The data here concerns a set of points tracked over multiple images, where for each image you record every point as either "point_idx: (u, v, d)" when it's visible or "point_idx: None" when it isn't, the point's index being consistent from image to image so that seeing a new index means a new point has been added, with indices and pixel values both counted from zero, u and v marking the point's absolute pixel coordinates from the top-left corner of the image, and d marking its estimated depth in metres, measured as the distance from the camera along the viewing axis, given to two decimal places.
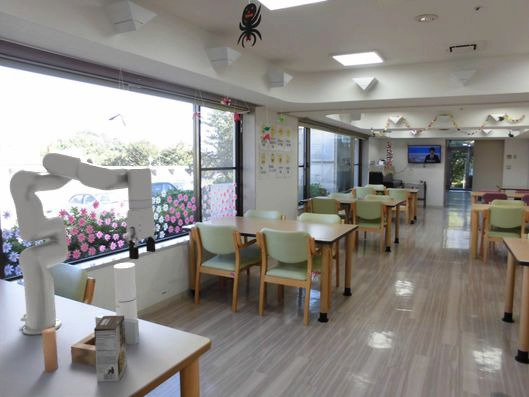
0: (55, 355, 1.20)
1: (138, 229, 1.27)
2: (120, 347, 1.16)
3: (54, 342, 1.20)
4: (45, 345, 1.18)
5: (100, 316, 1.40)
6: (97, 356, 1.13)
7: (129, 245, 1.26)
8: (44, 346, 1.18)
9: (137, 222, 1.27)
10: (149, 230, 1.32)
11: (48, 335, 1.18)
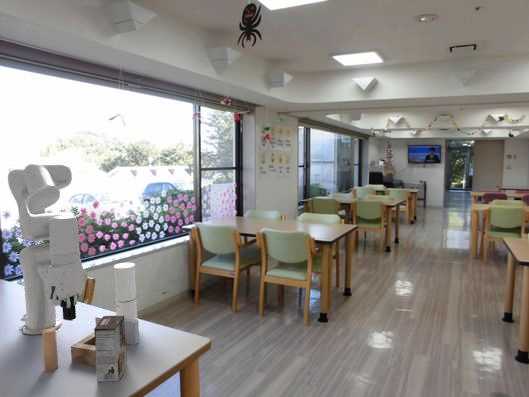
0: (55, 355, 1.20)
1: (60, 288, 1.10)
2: (120, 347, 1.16)
3: (54, 342, 1.20)
4: (45, 345, 1.18)
5: (100, 316, 1.40)
6: (97, 356, 1.13)
7: (61, 306, 1.14)
8: (44, 346, 1.18)
9: (58, 281, 1.10)
10: (76, 287, 1.16)
11: (48, 335, 1.18)
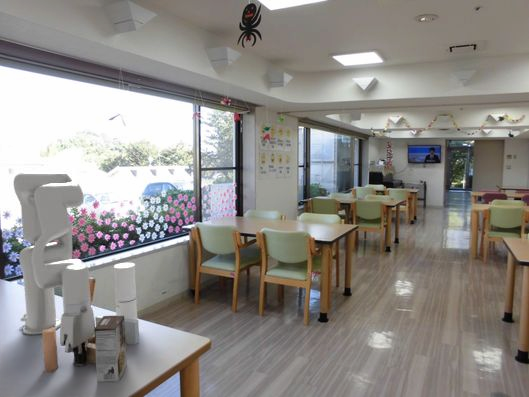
0: (55, 355, 1.20)
1: (72, 337, 1.16)
2: (120, 347, 1.16)
3: (54, 342, 1.20)
4: (45, 345, 1.18)
5: (100, 316, 1.40)
6: (97, 356, 1.13)
7: (73, 351, 1.19)
8: (44, 346, 1.18)
9: (70, 329, 1.16)
10: (87, 333, 1.21)
11: (48, 335, 1.18)
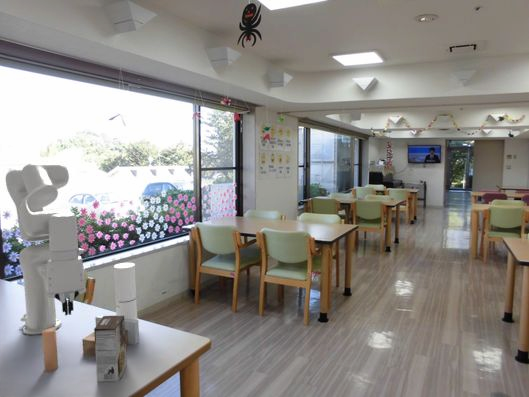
0: (55, 355, 1.20)
1: (48, 282, 1.16)
2: (120, 347, 1.16)
3: (54, 342, 1.20)
4: (45, 345, 1.18)
5: (100, 316, 1.40)
6: (97, 356, 1.13)
7: None
8: (44, 346, 1.18)
9: (48, 275, 1.16)
10: (70, 285, 1.18)
11: (48, 335, 1.18)
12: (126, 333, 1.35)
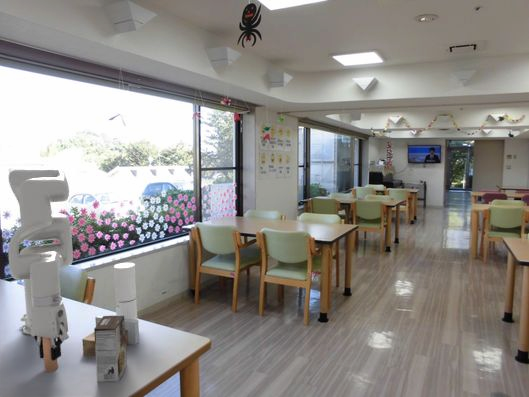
0: None
1: (30, 323, 1.19)
2: (120, 347, 1.16)
3: None
4: (45, 345, 1.18)
5: (100, 316, 1.40)
6: (97, 356, 1.13)
7: None
8: (44, 346, 1.18)
9: None
10: (45, 331, 1.17)
11: None
12: (126, 333, 1.35)
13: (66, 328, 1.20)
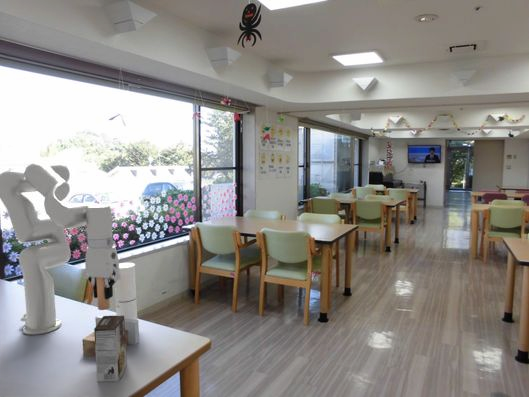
0: None
1: (85, 265, 1.29)
2: (120, 347, 1.16)
3: None
4: (99, 285, 1.28)
5: (100, 316, 1.40)
6: (97, 356, 1.13)
7: None
8: (98, 286, 1.29)
9: None
10: (99, 271, 1.27)
11: None
12: (126, 333, 1.35)
13: (118, 270, 1.30)
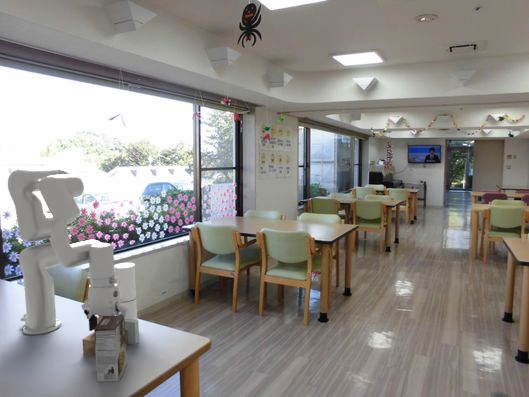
0: None
1: (87, 303, 1.31)
2: (120, 347, 1.16)
3: None
4: None
5: None
6: (97, 356, 1.13)
7: None
8: None
9: None
10: (101, 309, 1.29)
11: None
12: (126, 333, 1.35)
13: None
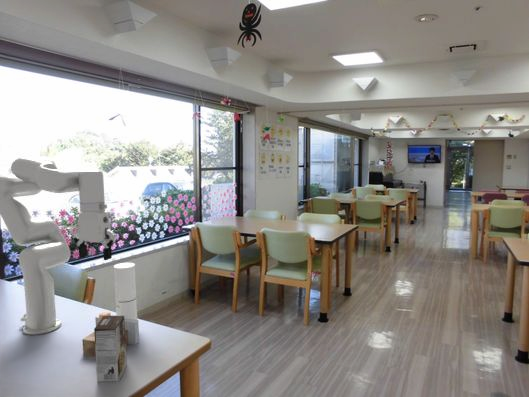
0: None
1: (78, 230, 1.31)
2: (120, 347, 1.16)
3: None
4: None
5: None
6: (97, 356, 1.13)
7: None
8: None
9: None
10: (91, 235, 1.29)
11: None
12: (126, 333, 1.35)
13: None
